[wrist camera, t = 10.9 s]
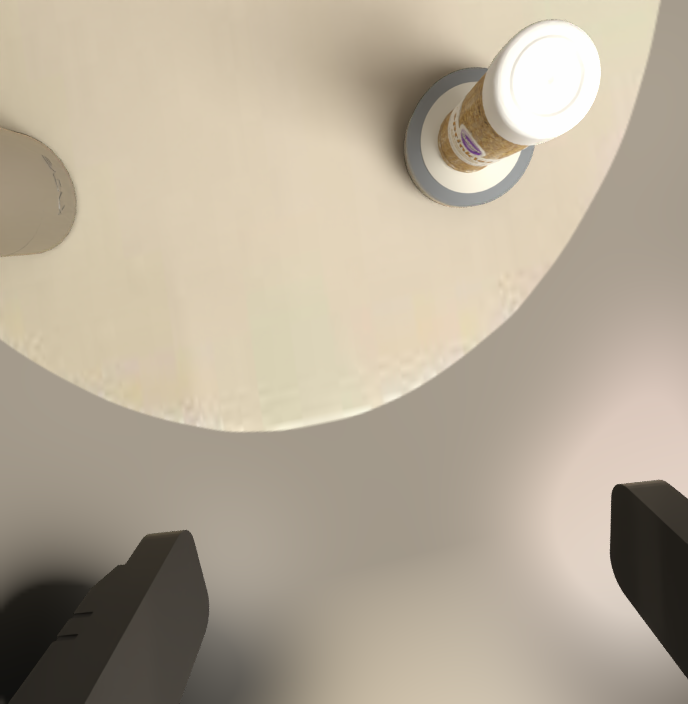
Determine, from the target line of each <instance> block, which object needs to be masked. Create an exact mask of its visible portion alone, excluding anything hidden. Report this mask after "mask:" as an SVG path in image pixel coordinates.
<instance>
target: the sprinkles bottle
mask: <svg viewBox="0 0 688 704" xmlns="http://www.w3.org/2000/svg"><path fill="white" fill-rule="evenodd" d="M599 83H600V60H599V56H598V52H597V50H596V47H595V45H594V43H593V42H592V40H591V38H590V37H589V36H588V35H587V34H586V33H585V32H584V31H583V30H582V29H581V28H579V27H578V26H576V25H574V24H573V23H570V22H567V21H563V20H554V19H551V20H544V21H539V22H536V23H533V24H531V25H529V26H527V27H525V28H524V29H522V30H521V31H520V32H518V33H517V34H516V35H515V36H514V37H513V38H512V39H511V40H509V41H508V43H507V44H506V45H505V46H504V47H503V48H502V49H501V50H500V52H499V53H498V54H497V55H496V56H495V58H494V59H493V61H492V62H491V64H490V66H489V68H488V70H487V72H486V73H485V74H484V75H483V76H482V77H481V79H480V80H479V81H478V82H477V83H476V84H475V86H474V87H473V88H472V89H471V90H470V92H469V93H468V94H467V95H466V96H465V97H464V98H463V99H462V100H461V101H460V103H459V104H458V105H457V106H456V107H455V108H454V109H453V110H452V111H451V112H450V113H449V114H448V115H447V116H446V117H445V119H444V120H443V122H442V124H441V126H440V130H439V134H438V147H439V151H440V153H441V156H442V158H443V160H444V161H445V163H446V164H447V165H448V166H449V167H451V168H453V169H454V170H456V171H460V172H464V173H472V172H476V171H479V170H481V169H483V168H485V167H487V166H488V165H491V164H493V163H495V162H498V161H500V160H502V159H504V158H507V157H509V156H511V155H513V154H515V153H517V152H519V151H521V150H523V149H525V148H527V147H528V146H530V145H537V144H541V143H544V142H547V141H549V140H551V139H553V138H556V137H558V136H559V135H561V134H563V133H565V132H567V131H568V130H570V129H571V128H573V127H574V126H575V125H576V124H577V123H578V122H580V120H581V119H582V118H583V117H584V116H585V115H586V113H587V112H588V110H589V109H590V107H591V106H592V104H593V102H594V99H595V97H596V94H597V91H598V87H599Z"/></svg>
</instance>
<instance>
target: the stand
mask: <svg viewBox="0 0 688 704" xmlns="http://www.w3.org/2000/svg"><path fill="white" fill-rule="evenodd" d="M487 70H488V69H487V68H477V67H476V68H466V69H462V70H458V71H456V72H453V73H450V74H449V75H447V76H445V77H443V78H442V79H440V80H439V81H438V82H436V83H435V84H434V85H433V86H432V87H431V88H430V89H429V90H428V91H427V92H426V93H425V94H424V96H423V97H422V98H421V100H420V102H419V103H418V105H417V107H416V109H415V110H414V112H413V114H412V116H411V119H410V121H409V123H408V126H407V129H406V134H405V139H404V157H405V163H406V166H407V170H408V172H409V175H410V177H411V179H412V181H413V182H414V184H415V185H416V186H417V188H418V189H419V190H420V191H421V192H422V193H423V194H424V195H425V196H426V197H428V198H429V199H431V200H432V201H434V202H436V203H438V204H441V205H444V206H448V207H455V208H464V207H471V206H476V205H481V204H485V203H488V202H491V201H493V200H495V199H497V198H499V197H500V196H502V195H503V194H505V193H506V192H507V191H508V190H510V189H511V188H512V187H513V186H514V185H515V184H516V183H517V182H518V181H519V179H520V178H521V176H522V175H523V174H524V172H525V170H526V168H527V167H528V165H529V162H530V160H531V157H532V154H533V151H534V146H535V145H530V146H528V147H527V148H525V149H523V150H521V151H519V152H517V153H515V154H513V155H511V156H509V157H507V158H504V159H502V160H500V161H498V162H495V163H493V164H491V165H488V166H487V167H485V168H483V169H481V170H479V171H476V172H472V173H464V172H460V171H456V170H454V169H453V168H451V167H449V166H448V165H447V164H446V163H445V161H444V160H443V158H442V156H441V153H440V151H439V147H438V134H439V130H440V126H441V124H442V122H443V120H444V119H445V117H446V116H447V115H448V114H449V113H450V112H451V111H452V110H453V109H454V108H455V107H456V106H457V105H458V104H459V103H460V101H461V100H462V99H463V98H464V97H465V96H466V95H467V94H468V93H469V92H470V90H471V89H472V88H473V87H474V86H475V84H476V83H477V82H478V81H479V80H480V79H481V77H482V76H483V75H484V74H485V73H486V72H487Z"/></svg>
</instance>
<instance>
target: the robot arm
mask: <svg viewBox="0 0 688 704" xmlns="http://www.w3.org/2000/svg"><path fill="white" fill-rule="evenodd" d="M75 214H76V196H75V190H74V186H73V183H72V180H71V178H70V175H69V173H68V171H67V170H66V168H65V166H64V165H63V163H62V162H61V160H60V159H59V158H58V157H57V156H56V155H55V153H54V152H53V151H52V150H50V149H49V148H48V147H47V146H45V145H44V144H43V143H41V142H40V141H38V140H36V139H34V138H32V137H30V136H27V135H24V134H21V133H17V132H14V131H10V130H7V129H4V128H0V257H6V256H19V255H30V254H38V253H43V252H45V251H48V250H51V249H52V248H54V247H55V246H57V245H58V244H60V243H61V242H62V241H63V239H64V238H65V237H66V236H67V235H68V233H69V231H70V229H71V227H72V225H73V222H74V218H75ZM610 559H611V565H612V569H613V572H614V575H615V578H616V580H617V582H618V584H619V586H620V588H621V590H622V591H623V593H624V594H625V595H626V597H627V598H628V600H629V601H630V602H631V604H632V605H633V606H634V608H635V609H636V610H637V612H638V613H639V614H640V616H641V617H642V618H643V620H644V621H645V622H646V624H647V625H648V626H649V628H650V629H651V630H652V632H653V633H654V635H655V636H656V637H657V638H658V640H659V641H660V643H661V644H662V645H663V647H664V648H665V649H666V651H667V652H668V653H669V654H670V656H671V657H672V659H673V660H674V661H675V663H676V664H677V665H678V667H679V668H680V669H681V671H682V672H683V673H684V675H685V676H686V677H687V678H688V499H687V498H686V497H685V496H683V495H682V494H681V493H680V492H678V491H677V490H676V489H675V488H674V487H672V486H671V485H670V484H668V483H667V482H665V481H663V480H654V481H644V482H635V483H626V484H617V485H616V486H615V487H614V488H613V490H612V495H611V536H610ZM208 617H209V598H208V593H207V589H206V585H205V581H204V578H203V573H202V569H201V566H200V562H199V558H198V554H197V550H196V546H195V543H194V539H193V536H192V534H191V533H190V532H189V531H187V530H182V531H172V532H164V533H154V534H148V535H146V536H145V537H144V538H143V539H142V540H141V542H140V543H139V545H138V546H137V548H136V549H135V551H134V552H133V554H132V555H131V557H130V558H129V560H128V561H127V563H126V564H125V565H118V566H117V567H115V568H114V569H113V570H112V571H111V572H110V573H109V574H107V575H106V576H105V577H104V578H103V579H102V580H100V581H99V582H98V583H97V584H96V585H95V586H94V587H92V588H91V590H90V591H89V592H88V594H87V595H86V597H85V598H84V600H83V601H82V602H81V604H80V605H79V606H78V608H77V609H76V611H75V612H74V613H73V618H72V619H69V620H68V622H67V623H66V624H65V626H64V627H63V628H62V630H61V631H60V633H59V634H58V635H57V641H56V642H52V644H51V645H50V646H49V648H48V650H47V651H46V652H45V653H44V655H43V656H42V658H41V659H40V660H39V662H38V663H37V665H36V666H35V667H34V669H33V670H32V671H31V673H30V674H29V676H28V677H27V678H26V680H25V681H24V683H23V684H22V685H21V687H20V688H19V689H18V691H17V692H16V694H15V695H14V696H13V698H12V699H11V701H10V702H9V703H8V704H180V701H181V698H182V696H183V693H184V690H185V687H186V685H187V682H188V679H189V676H190V673H191V671H192V668H193V665H194V662H195V660H196V657H197V654H198V651H199V649H200V646H201V643H202V640H203V637H204V635H205V632H206V628H207V624H208Z"/></svg>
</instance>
